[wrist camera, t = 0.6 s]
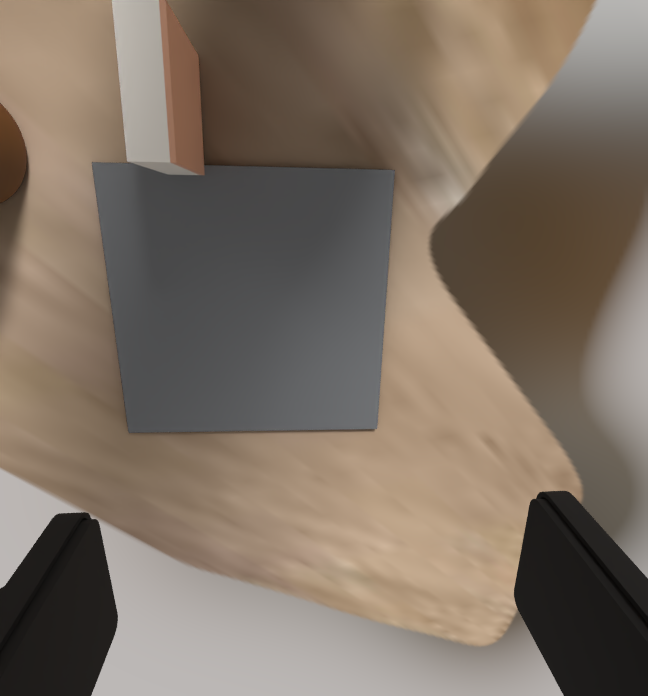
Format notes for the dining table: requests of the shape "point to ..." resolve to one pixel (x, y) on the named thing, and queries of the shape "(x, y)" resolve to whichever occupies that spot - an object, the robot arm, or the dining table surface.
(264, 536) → the dining table surface
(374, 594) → the dining table surface
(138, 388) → the mat
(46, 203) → the dining table surface
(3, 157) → the mug
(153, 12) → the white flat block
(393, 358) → the dining table surface
